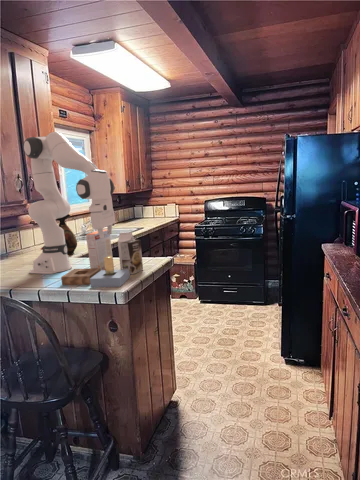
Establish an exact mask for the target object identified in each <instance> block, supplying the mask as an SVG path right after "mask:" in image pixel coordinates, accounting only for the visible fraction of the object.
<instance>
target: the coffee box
mask: <svg viewBox="0 0 360 480" xmlns="http://www.w3.org/2000/svg"><path fill="white" fill-rule="evenodd" d="M120 245H121V256H122V267H123V269H122V270H126V269H129V275H135V274H137V273H139V272H141V271H143V270H144V265H143V255H142V254H143V253H142V242H141V239H135V240H128V241H125V242H121V243H120Z"/></svg>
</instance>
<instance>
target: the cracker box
mask: <svg viewBox="0 0 360 480" xmlns="http://www.w3.org/2000/svg"><path fill="white" fill-rule="evenodd" d="M103 233H104V236H105V237H104V238H100V235H99V233H98V230H96V231H93V232H90V233H87V234H85V239H86V244H87V245H86V246H87V252H88V253H87V254H88V261H89V267H90V268H101V270H105V264H104V257H107V256H112V257H113V251H112V250H113V249H112V242H111V234H110V235H108V234H107V229H104V228H103ZM113 258H114V257H113Z"/></svg>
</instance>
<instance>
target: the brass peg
mask: <svg viewBox="0 0 360 480" xmlns="http://www.w3.org/2000/svg"><path fill="white" fill-rule="evenodd" d="M112 256H113V255H112ZM112 256H107V257H104V264H105V272H106V276H111V275H115V274H114V270H115V267H114V257H112Z"/></svg>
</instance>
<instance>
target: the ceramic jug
mask: <svg viewBox="0 0 360 480" xmlns="http://www.w3.org/2000/svg"><path fill="white" fill-rule="evenodd" d="M70 217H71V215H70V213H69V214H68V215H66V216H64V217H62V218H58V219H56V221H59V223H58V226H59V227H61V228H62V229H63V230H64V236H65V243H66V245H67V255H68V256H72V255H75V251H76V249H77V246H78V240H77V238H76V235H75V233H74V231H72V229H71V228H70V226H68V225H67V223H66V220H68V219H70Z"/></svg>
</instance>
